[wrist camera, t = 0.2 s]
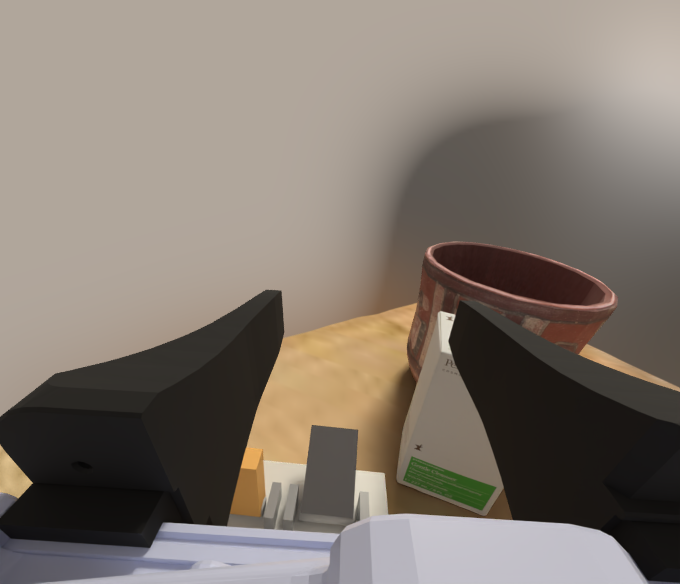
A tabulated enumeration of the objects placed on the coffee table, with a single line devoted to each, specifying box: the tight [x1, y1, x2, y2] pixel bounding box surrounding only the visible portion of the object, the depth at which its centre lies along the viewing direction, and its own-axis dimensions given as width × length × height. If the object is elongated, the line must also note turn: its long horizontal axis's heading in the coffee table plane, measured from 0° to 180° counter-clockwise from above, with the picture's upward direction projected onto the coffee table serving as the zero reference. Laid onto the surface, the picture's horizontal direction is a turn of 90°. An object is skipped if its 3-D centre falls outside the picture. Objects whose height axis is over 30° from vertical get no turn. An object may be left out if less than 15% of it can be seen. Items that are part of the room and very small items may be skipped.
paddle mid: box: [230, 448, 267, 517], centre depth 20 cm, size 1×4×7 cm, turn 87°
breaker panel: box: [227, 460, 388, 534], centre depth 18 cm, size 14×24×7 cm, turn 87°
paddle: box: [299, 425, 358, 526], centre depth 23 cm, size 1×4×7 cm
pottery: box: [407, 242, 618, 383], centre depth 33 cm, size 18×18×18 cm
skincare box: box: [396, 311, 504, 516], centre depth 24 cm, size 8×7×16 cm
